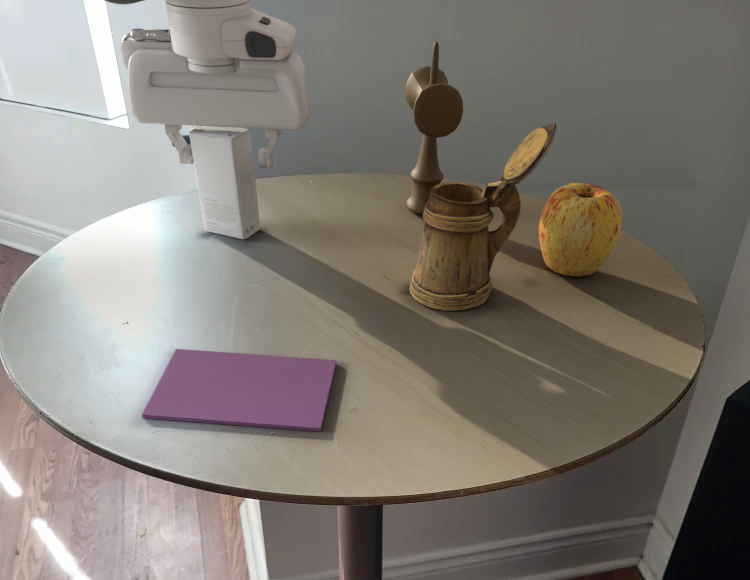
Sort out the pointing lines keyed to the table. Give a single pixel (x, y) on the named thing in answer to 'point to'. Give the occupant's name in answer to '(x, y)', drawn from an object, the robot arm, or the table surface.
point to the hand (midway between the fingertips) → (227, 164)
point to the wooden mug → (471, 231)
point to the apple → (579, 228)
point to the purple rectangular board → (243, 390)
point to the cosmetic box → (226, 180)
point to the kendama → (430, 125)
